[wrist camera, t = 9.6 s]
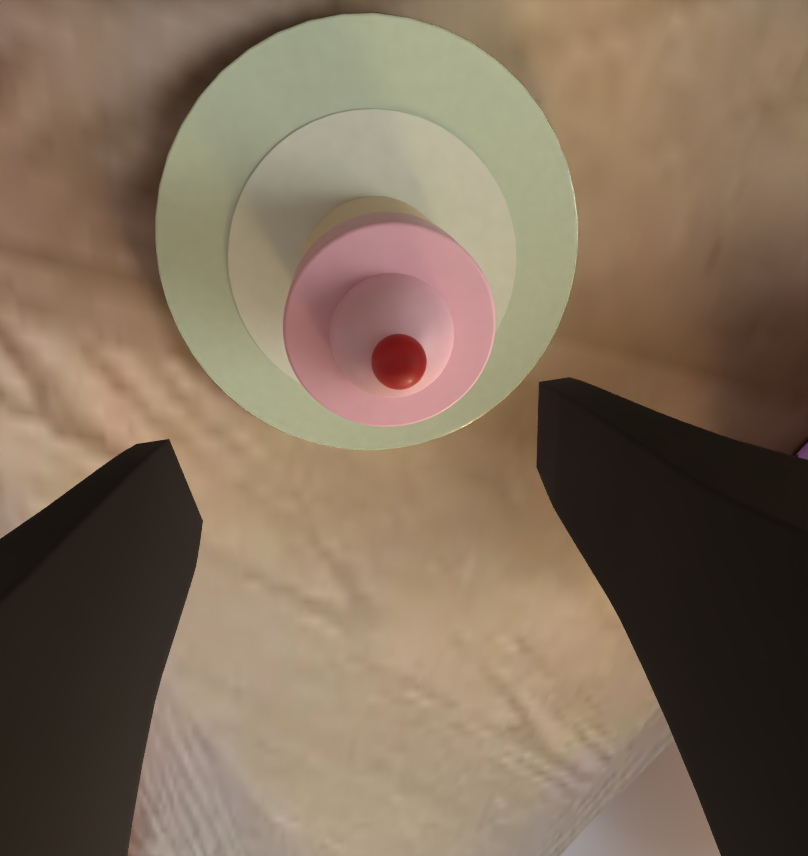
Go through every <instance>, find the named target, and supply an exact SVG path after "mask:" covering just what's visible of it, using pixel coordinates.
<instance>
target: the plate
mask: <svg viewBox="0 0 808 856" xmlns="http://www.w3.org/2000/svg"><path fill="white" fill-rule="evenodd" d="M370 196H380V197H389V198H393V199H397V200H400V201H402V202H405V203H407V204H409V205H411V206H412V207H414V208H416V209H417V210H419V211H420V212H421V213H422V214H424V215H425V216H426V217H427V218H428V219H429V220H430V221H431V222H432V223H433V224H434V225H436V226H438V227H440V228H441V229H442V230H444V231H445V232H446V233H448V234H449V235H450V236H451V237H452V238H453V239H454V240H456V241H457V242H458V243H459V244H460V245H461V246H462V247H463V248H464V249H465V250H466V251H467V252H468V253H469V254H470V255H471V256H472V257H473V259H474V260H475V262H476V263H477V264H478V266H479V267H480V268H481V270H482V272H483V274H484V276H485V277H486V279H487V281H488V284H489V287H490V290H491V292H492V296H493V301H494V305H495V315H496V326H495V336H494V342H493V346H492V350H491V353H490V356H489V359H488V361H487V363H486V365H485V367H484V369H483V371H482V373H481V374H480V376H479V378H478V379H477V381H476V382H475V383H474V385H473V386H472V387H471V388H470V389H469V391H468V392H467V393H466V394H465V395H464V396H463V397H462V398H461V399H459V400H458V401H457V402H456V403H454V404H453V405H452V406H450V407H449V408H448V409H446V410H444V411H443V412H441V413H439V414H437V415H435V416H433V417H431V418H429V419H426V420H423V421H420V422H417V423H413V424H408V425H403V426H393V427H378V426H371V425H364V424H360V423H357V422H353V421H350V420H348V419H345V418H343V417H341V416H339V415H337V414H335V413H333V412H331V411H330V410H328V409H327V408H325V407H324V406H323V405H321V404H320V403H319V402H318V401H316V400H315V399H314V398H313V397H312V396H311V395H310V394H309V393H308V392H307V390H306V389H305V388H304V387H303V386H302V384H301V383H300V381H299V380H298V378H297V377H296V375H295V373H294V371H293V369H292V367H291V365H290V363H289V360H288V356H287V353H286V350H285V344H284V338H283V316H284V308H285V304H286V300H287V296H288V293H289V289H290V285H291V282H292V278H293V276H294V273H295V271H296V269H297V266H298V265H299V263H300V261H301V258H302V254H303V250H304V247H305V244H306V242H307V240H308V237H309V236H310V234H311V232H312V230H313V229H314V228H315V226H316V225H317V224H318V222H319V221H320V220H321V219H322V218H323V217H324V216H325V215H326V214H327V213H329V212H330V211H332V210H333V209H334V208H336V207H337V206H339V205H341V204H343V203H345V202H348V201H351V200H353V199H357V198H362V197H370ZM155 248H156V255H157V262H158V269H159V276H160V280H161V283H162V287H163V290H164V294H165V298H166V301H167V304H168V307H169V309H170V312H171V314H172V316H173V319H174V321H175V324H176V326H177V328H178V330H179V332H180V334H181V336H182V337H183V339H184V341H185V343H186V344H187V346H188V348H189V350H190V351H191V353H192V355H193V356H194V357H195V359H196V360H197V361H198V363H199V364H200V365H201V367H202V368H203V369H204V371H205V372H206V373H207V375H208V376H209V377H210V378H211V379H212V380H213V381H214V382H215V383H216V384H217V385H218V386H219V387H220V388H221V389H222V390H223V391H224V393H225V394H227V395H228V396H229V397H230V398H231V399H233V400H234V401H235V402H236V403H237V404H239V405H240V406H241V407H242V408H244V409H245V410H246V411H248V412H249V413H251V414H252V415H254V416H255V417H257V418H259V419H260V420H262V421H263V422H265V423H267V424H269V425H271V426H273V427H275V428H277V429H279V430H281V431H283V432H285V433H287V434H289V435H292V436H295V437H298V438H300V439H303V440H306V441H309V442H313V443H317V444H321V445H325V446H329V447H335V448H343V449H351V450H384V449H394V448H401V447H406V446H411V445H416V444H421V443H424V442H427V441H430V440H433V439H436V438H439V437H442V436H444V435H447V434H449V433H451V432H453V431H456V430H458V429H460V428H462V427H464V426H466V425H467V424H469V423H471V422H473V421H474V420H476V419H478V418H479V417H481V416H483V415H484V414H485V413H487V412H488V411H489V410H491V409H492V408H493V407H495V406H496V405H497V404H499V403H500V402H501V401H502V400H503V399H504V398H505V397H507V396H508V395H509V394H510V393H511V392H512V391H513V390H514V389H515V388H516V387H517V386H518V385H519V384H520V383H521V382H522V380H523V379H524V378H525V377H526V376H527V375H528V373H529V372H530V371H531V370H532V369H533V367H534V366H535V365H536V363H537V362H538V360H539V359H540V357H541V356H542V354H543V353H544V351H545V350H546V348H547V347H548V345H549V343H550V341H551V339H552V337H553V335H554V333H555V331H556V329H557V327H558V326H559V323H560V320H561V318H562V315H563V313H564V310H565V307H566V305H567V302H568V298H569V294H570V291H571V287H572V283H573V279H574V274H575V266H576V259H577V251H578V217H577V209H576V200H575V192H574V188H573V184H572V180H571V176H570V172H569V168H568V164H567V162H566V159H565V156H564V154H563V151H562V149H561V146H560V144H559V141H558V139H557V136H556V134H555V133H554V131H553V129H552V127H551V126H550V124H549V122H548V120H547V118H546V117H545V115H544V113H543V111H542V110H541V108H540V107H539V106H538V104H537V103H536V102H535V100H534V99H533V98H532V96H531V95H530V94H529V93H528V91H527V90H526V89H525V87H524V86H523V85H522V84H521V83H520V82H519V81H518V80H517V79H516V78H515V77H514V76H513V75H512V74H511V73H510V72H509V71H508V70H507V69H506V68H505V67H504V66H503V65H502V64H501V63H500V62H499V61H497V60H496V59H495V58H493V57H492V56H490V55H489V54H488V53H486V52H485V51H483V50H482V49H481V48H479V47H478V46H476V45H475V44H474V43H472V42H470V41H468V40H466V39H464V38H462V37H460V36H458V35H456V34H454V33H452V32H450V31H448V30H446V29H444V28H442V27H439V26H436V25H432V24H429V23H426V22H423V21H420V20H416V19H413V18H410V17H403V16H396V15H389V14H382V13H349V14H338V15H333V16H328V17H323V18H318V19H313V20H308V21H306V22H303V23H300V24H298V25H295V26H292V27H290V28H287V29H284V30H282V31H279V32H277V33H275V34H273V35H271V36H270V37H268V38H266V39H264V40H263V41H261V42H259V43H258V44H256V45H254V46H252V47H251V48H249V49H247V50H246V51H245V52H244V53H242V54H241V55H240V56H239V57H237V58H236V59H235V60H234V61H233V62H231V63H230V64H229V65H228V66H227V67H225V68H224V69H223V70H222V71H221V72H220V73H219V74H218V75H217V76H216V77H215V78H214V80H213V81H212V82H211V83H210V84H209V85H208V86H207V88H206V89H205V90H204V91H203V92H202V93H201V94H200V95H199V97H198V98H197V100H196V101H195V103H194V105H193V106H192V108H191V109H190V111H189V112H188V114H187V116H186V117H185V119H184V120H183V122H182V123H181V125H180V128H179V130H178V132H177V134H176V137H175V139H174V141H173V143H172V146H171V148H170V150H169V152H168V155H167V159H166V162H165V166H164V169H163V173H162V176H161V180H160V184H159V190H158V198H157V205H156V213H155Z"/></svg>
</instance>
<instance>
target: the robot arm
mask: <svg viewBox="0 0 808 856" xmlns="http://www.w3.org/2000/svg"><path fill="white" fill-rule="evenodd" d="M537 469H538V472H539V474H540V477H541V479H542V482H543V484H544V487H545V489H546V491H547V494H548V496H549V498H550V501H551V503H552V505H553V507H554V509H555V511H556V512H557V514H558V516H559V518H560V519H561V521H562V523H563V524H564V526H565V528H566V529H567V531H568V533H569V534H570V536H571V538H572V539H573V541H574V543H575V544H576V546H577V548H578V549H579V551H580V552H581V554H582V556H583V557H584V559H585V561H586V562H587V564H588V566H589V567H590V569H591V570H592V572H593V574H594V575H595V577H596V579H597V580H598V582H599V584H600V585H601V587H602V588H603V590H604V592H605V593H606V595H607V597H608V598H609V600H610V602H611V604H612V606H613V607H614V609H615V611H616V613H617V615H618V617H619V618H620V620H621V622H622V624H623V627H624V629H625V631H626V633H627V635H628V637H629V639H630V641H631V644H632V646H633V648H634V650H635V652H636V654H637V656H638V658H639V660H640V663H641V665H642V667H643V669H644V671H645V673H646V676H647V678H648V680H649V682H650V685H651V687H652V689H653V691H654V694H655V696H656V698H657V700H658V703H659V705H660V707H661V709H662V712H663V714H664V716H665V718H666V721H667V723H668V725H669V728H670V730H671V732H672V735H673V737H674V740H675V742H676V744H677V747H678V749H679V752H680V754H681V756H682V759H683V761H684V764H685V766H686V768H687V771H688V773H689V776H690V778H691V780H692V783H693V785H694V788H695V790H696V792H697V794H698V797H699V800H700V803H701V805H702V808H703V810H704V813H705V815H706V818H707V821H708V823H709V825H710V828H711V831H712V834H713V836H714V839H715V841H716V844H717V846H718V849H719V851H720V854H721V856H808V460H807V459H803V458H799V457H795V456H791V455H787V454H783V453H780V452H776V451H773V450H769V449H766V448H762V447H758V446H755V445H751V444H748V443H744V442H741V441H738V440H734V439H731V438H728V437H725V436H722V435H719V434H716V433H713V432H710V431H707V430H705V429H702V428H699V427H696V426H693V425H691V424H688V423H685V422H682V421H680V420H677V419H674V418H672V417H669V416H667V415H664V414H661V413H659V412H656V411H654V410H651V409H649V408H647V407H644V406H642V405H639V404H637V403H634V402H632V401H630V400H627V399H625V398H623V397H620V396H618V395H615V394H613V393H611V392H608V391H606V390H603V389H601V388H599V387H596V386H593V385H591V384H588V383H586V382H583V381H580V380H577V379H574V378H570V377H569V378H562V379H556V380H549V381H543V382H539V402H538V435H537ZM202 523H203V520H202V518H201V515H200V513H199V511H198V508H197V506H196V503H195V501H194V498H193V496H192V494H191V491H190V489H189V486H188V484H187V481H186V479H185V477H184V474H183V472H182V469H181V467H180V464H179V462H178V460H177V457H176V455H175V452H174V450H173V447H172V445H171V443H170V440H169V439H166V440H160V441H153V442H147V443H140V444H136V445H134V446H132V447H131V448H129V449H127V450H125V451H124V452H122V453H121V454H119V455H118V456H116V457H115V458H113V459H112V460H110V461H109V462H108V463H106V464H105V465H103V466H102V467H101V468H99V469H98V470H96V471H95V472H94V473H92V474H91V475H90V476H88V477H87V478H85V479H84V480H83V481H81V482H80V483H79V484H77V485H76V486H75V487H73V488H72V489H70V490H69V491H68V492H66V493H65V494H64V495H62V496H61V497H60V498H58V499H57V500H55V501H54V502H53V503H51V504H50V505H49V506H47V507H46V508H44V509H43V510H42V511H40V512H39V513H37V514H36V515H34V516H33V517H31V518H30V519H29V520H27V521H26V522H24V523H23V524H21V525H20V526H18V527H17V528H15V529H14V530H13V531H11V532H10V533H8V534H7V535H5V536H4V537H2V538H1V539H0V856H127V854H128V847H129V841H130V834H131V827H132V821H133V815H134V809H135V804H136V798H137V792H138V786H139V781H140V775H141V769H142V763H143V758H144V753H145V748H146V743H147V738H148V733H149V728H150V723H151V718H152V714H153V709H154V704H155V700H156V696H157V692H158V688H159V685H160V681H161V677H162V674H163V671H164V668H165V664H166V661H167V658H168V655H169V652H170V649H171V645H172V642H173V639H174V636H175V633H176V630H177V627H178V623H179V620H180V617H181V614H182V611H183V608H184V604H185V601H186V598H187V595H188V591H189V588H190V585H191V582H192V578H193V575H194V571H195V568H196V563H197V557H198V551H199V546H200V538H201V531H202Z"/></svg>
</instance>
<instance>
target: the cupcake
mask: <svg viewBox="0 0 808 856" xmlns="http://www.w3.org/2000/svg"><path fill="white" fill-rule="evenodd" d="M495 326H496V315H495V305H494V301H493V296H492V292H491V290H490V287H489V284H488V281H487V279H486V277H485V276H484V274H483V272H482V270H481V268H480V267H479V266H478V264H477V263H476V262H475V260H474V259H473V257H472V256H471V255H470V254H469V253H468V252H467V251H466V250H465V249H464V248H463V247H462V246H461V245H460V244H459V243H458V242H457V241H456V240H454V239H453V238H452V237H451V236H450V235H449V234H448V233H446V232H445V231H444V230H442V229H441V228H440V227H438V226H436V225H434V224H433V223H432V222H431V221H430V220H429V219H428V218H427V217H426V216H425V215H424V214H422V213H421V212H420V211H419V210H417V209H416V208H414V207H412V206H411V205H409V204H407V203H405V202H402V201H400V200H397V199H393V198H389V197H380V196H370V197H362V198H357V199H353V200H351V201H348V202H345V203H343V204H341V205H339V206H337V207H336V208H334V209H333V210H332V211H330V212H329V213H327V214H326V215H325V216H324V217H323V218H322V219H321V220H320V221H319V222H318V224H317V225H316V226H315V228H314V229H313V230H312V232H311V234H310V236H309V237H308V240H307V242H306V244H305V247H304V250H303V254H302V258H301V261H300V263H299V265H298V266H297V269H296V271H295V273H294V276H293V278H292V282H291V285H290V289H289V293H288V296H287V300H286V304H285V308H284V316H283V338H284V344H285V350H286V353H287V356H288V360H289V363H290V365H291V367H292V369H293V371H294V373H295V375H296V377H297V378H298V380H299V381H300V383H301V384H302V386H303V387H304V388H305V389H306V390H307V392H308V393H309V394H310V395H311V396H312V397H313V398H314V399H315V400H316V401H318V402H319V403H320V404H321V405H323V406H324V407H325V408H327V409H328V410H330V411H331V412H333V413H335V414H337V415H339V416H341V417H343V418H345V419H348V420H350V421H353V422H357V423H360V424H364V425H371V426H378V427H393V426H403V425H408V424H413V423H417V422H420V421H423V420H426V419H429V418H431V417H433V416H435V415H437V414H439V413H441V412H443V411H444V410H446V409H448V408H449V407H450V406H452V405H453V404H454V403H456V402H457V401H458V400H459V399H461V398H462V397H463V396H464V395H465V394H466V393H467V392H468V391H469V389H470V388H471V387H472V386H473V385H474V383H475V382H476V381H477V379H478V378H479V376H480V374H481V373H482V371H483V369H484V367H485V365H486V363H487V361H488V359H489V356H490V353H491V350H492V346H493V342H494V336H495Z"/></svg>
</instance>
